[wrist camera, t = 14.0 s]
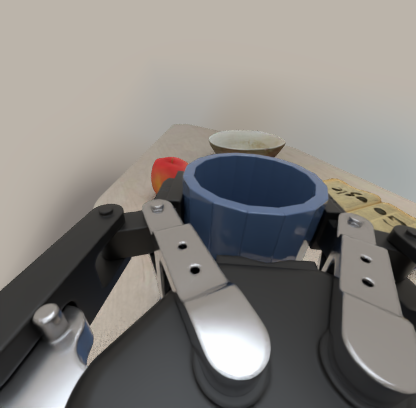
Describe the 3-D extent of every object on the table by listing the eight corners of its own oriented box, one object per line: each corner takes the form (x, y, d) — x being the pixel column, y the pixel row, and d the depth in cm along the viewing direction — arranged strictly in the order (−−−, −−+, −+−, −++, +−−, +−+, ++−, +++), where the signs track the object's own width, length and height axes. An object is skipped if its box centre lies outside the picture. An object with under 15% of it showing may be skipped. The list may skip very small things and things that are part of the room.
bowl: (192, 166, 67) (193, 135, 62) (229, 150, 84) (232, 124, 78) (259, 189, 56) (267, 154, 51) (286, 165, 73) (294, 137, 67)
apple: (176, 214, 44) (175, 171, 39) (144, 200, 48) (138, 159, 43) (200, 196, 51) (202, 157, 46) (170, 185, 55) (168, 148, 50)
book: (438, 257, 37) (462, 232, 34) (385, 287, 31) (407, 260, 28) (323, 193, 56) (331, 173, 53) (275, 204, 50) (281, 182, 47)
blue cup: (176, 335, 11) (170, 206, 7) (190, 251, 17) (192, 149, 12) (292, 344, 11) (362, 220, 7) (268, 257, 17) (299, 156, 12)
